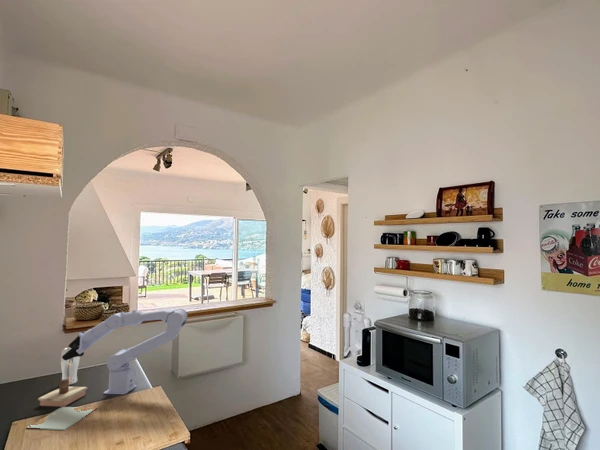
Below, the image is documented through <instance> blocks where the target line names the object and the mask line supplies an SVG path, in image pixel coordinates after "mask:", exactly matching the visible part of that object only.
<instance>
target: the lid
mask: <svg viewBox="0 0 600 450" xmlns="http://www.w3.org/2000/svg"><path fill="white" fill-rule="evenodd" d="M87 389H88V386H70V385H69V379H64V380H62V379H61V380H60V381H59V388H56V389H55V390H52V391H50V392H48V393H46V394H44V395H42V396H40V397H38V398H37V401H40V400H45V401H66V400H68V399H70V398H71V397H73V396H75V395H77V394H79V393H81V392H82V391H84V390H85V391H86V390H87Z"/></svg>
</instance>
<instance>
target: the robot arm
mask: <svg viewBox="0 0 600 450" xmlns="http://www.w3.org/2000/svg"><path fill="white" fill-rule="evenodd" d="M156 320H157V321H159V320H161V321H162V322H163V323H164V324H165V323H166V324H167V326H166V330H165V331H163V332H161V333H159V334H158V335H155V336H152V337H150V338H149V339H147V340H145V341H142V342H141V343H139V344H136V345H134V346H131V347H129V348H122V349H120V350H118V351H117V352H116V353H115V354H113V355H111V356H109V357H108V359H107V360H106V367H107V368H108V370H109V372H108V374H109V375H108V389H107V390H105V391H104V392H103V394H104V395H125V394H128V393H129V392H130V391H132V390H133V389H135V388H136V387H137V385H136V370H135V369H134V368H132V367H130V363H129V362H131V361H132V360H134V359H136V358H139V357H140V356H142V355H145V354H148V352H150V351H153V350H155V349H157V348H159V347H161V346H163V345H166V344H168V343H169V342H171V341H173V340H175V339H176V338H177V337H178V336H179V334H180V332H181V331H182V329H183V328H184V327H185V325H186V323H187V321H188V312H187V311H186V309H184V308H178V309H176V308H172V309H163V310H157V311H150V312H142V311H140V310H137V309H133V310H131V311H128V312H125V311H120V312H117V313H114V314H112V315H110V316H109V317H108V318H106V319H105V320H104V321H101V322H100V323H98V324H96V325H95V326H93V327H91V328H89V329H87V330H86V331H85V332H84V331H83V330H82V331H80V332H79V334H78V335H77V337H75V338H74V339H73V340H72V341H71V343H70V342H69V344H68V347H70V348H71V349H70V350H69V351H68V352H67V353H65V354H64V355H63V356H62V358H63V359H64V360H65V361H66V360H68V359H71V358H74V357H79V356H80V357H83V356H84V354H85V351H86V350H87V349H88V348H89V349H90V347H92V346H93V345H94V344H95V343H97V342H99V341H100V340H101V339H104V337H105V336H106V337H107V335H109V334H110V333H112V331H115V330H116V329H118V328H120V327H132V326H137V325H138V326H139V325H141V324H142V323H143V322H148V321H156ZM78 346H79V347H78Z"/></svg>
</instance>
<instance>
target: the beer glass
mask: <svg viewBox="0 0 600 450" xmlns="http://www.w3.org/2000/svg"><path fill="white" fill-rule="evenodd" d="M78 347H79V346H78ZM70 349H71V348H70V347H65V348H62V349H61V356H60V368H61V374H62V375H61V380H64V379H69V386H70V385H74V384H76V383H78V380H79V379H78V376H77V375H78V370H79V369H78V368H79V365H80V358H81V356H79V357H74V358H71V359H68V360H66V361H65V360H64V359H63V358H62V356H63V355H64V354H65V353H67V352H68V351H69V350H70Z"/></svg>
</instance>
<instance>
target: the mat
mask: <svg viewBox="0 0 600 450" xmlns="http://www.w3.org/2000/svg"><path fill="white" fill-rule="evenodd" d="M74 408H78V407H75V406H65V407H59V408H57V409H55V410H54V411H51V412H50V413H49V414H47V415H50V416H49V417H48V418H47V419H46V420H45V422H44V423H42V424H38V425H31V424H29V425H30V426H31V428H40V429H39V430H49V431H50V430H51V431H52V430H53V431H65V430H68V428H70V427H72V426H73V425H75V424H76V423H78V422H79V421H81V420H83V419H84V418H86V417H87V416H88V414H89V413H90V414H92V413H93V412H94V411H93V410H92V409H90V410H87V411H81V410H78V411H80V412H77V411H76V410H74ZM92 411H93V412H92ZM91 412H92V413H91ZM53 413H56V414H55V415H51V414H53ZM90 414H89V415H90ZM86 415H87V416H86ZM85 416H86V417H85ZM83 417H84V418H83ZM82 418H83V419H82ZM29 425H27V426H26V427H28V428H30V427H29Z"/></svg>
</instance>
